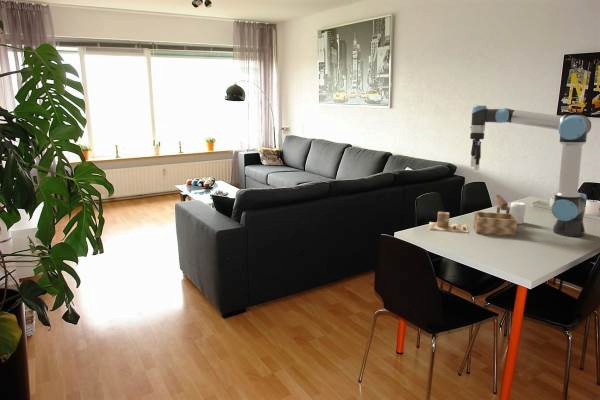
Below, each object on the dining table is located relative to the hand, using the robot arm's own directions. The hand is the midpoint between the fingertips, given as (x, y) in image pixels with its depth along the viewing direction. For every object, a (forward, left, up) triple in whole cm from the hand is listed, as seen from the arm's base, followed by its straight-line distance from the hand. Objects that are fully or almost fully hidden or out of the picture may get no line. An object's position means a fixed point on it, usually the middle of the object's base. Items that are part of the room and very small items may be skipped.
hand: (474, 168), depth 262 cm
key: (-17, 0, -22) cm, 27 cm away
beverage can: (-27, -3, -32) cm, 42 cm away
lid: (+14, +20, -33) cm, 41 cm away
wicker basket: (-11, +17, -32) cm, 38 cm away
